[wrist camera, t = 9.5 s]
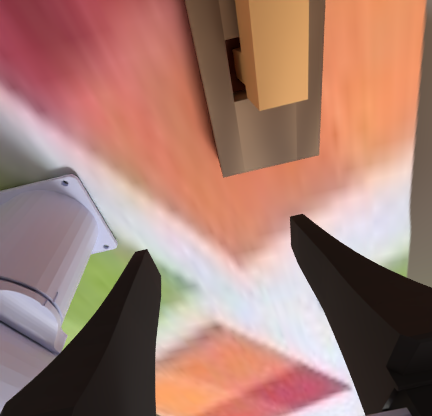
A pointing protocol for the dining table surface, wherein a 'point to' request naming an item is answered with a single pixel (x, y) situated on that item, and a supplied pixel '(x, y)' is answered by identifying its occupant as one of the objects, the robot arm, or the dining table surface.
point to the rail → (242, 107)
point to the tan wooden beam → (273, 51)
